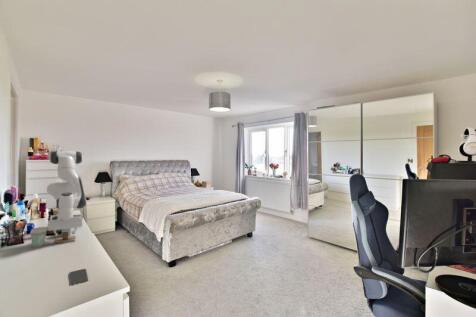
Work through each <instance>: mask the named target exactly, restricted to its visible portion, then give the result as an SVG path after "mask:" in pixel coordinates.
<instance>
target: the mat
mask: <svg viewBox="0 0 476 317" xmlns="http://www.w3.org/2000/svg"><path fill="white" fill-rule="evenodd" d="M74 236H75V235H74ZM55 240H56V238H55V239H54V242H53V246H56V245H63V244H70V243H75V242H76V236H75V239H74V241H73V242H66V243H59V244H54V243H55Z"/></svg>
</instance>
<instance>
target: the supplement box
mask: <svg viewBox="0 0 476 317" xmlns="http://www.w3.org/2000/svg"><path fill="white" fill-rule="evenodd" d="M78 228H79V227H77V229H76V231H75V234H72V231H74V230H75V229H74V228H69V229H62V233H61V235H62V234H63V232H66V231H68V237H69V236H75V235H76V234H79V233H78V230H79V229H78Z"/></svg>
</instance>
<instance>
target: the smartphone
mask: <svg viewBox="0 0 476 317" xmlns="http://www.w3.org/2000/svg"><path fill="white" fill-rule="evenodd" d="M68 280H70V283H69V286H70V285H72V286H75V285H74V284H76V285H78V284H79V283H80V284H84V283H86V282H88V281H89V276H88V272H87V269H86V268H81V269H78V270H73V271H70V272H69V273H68ZM80 284H79V285H80Z"/></svg>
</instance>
